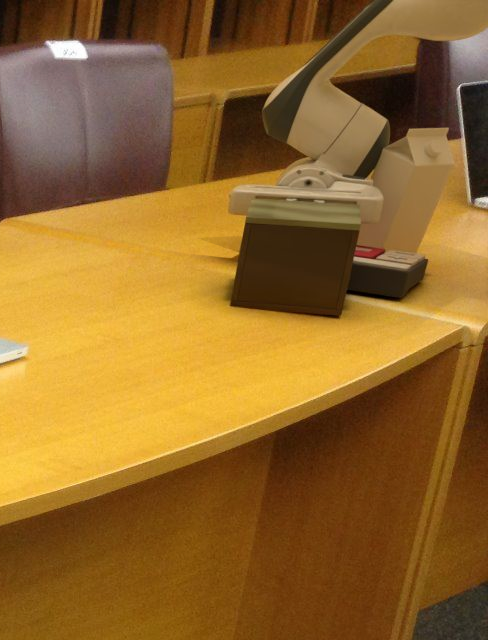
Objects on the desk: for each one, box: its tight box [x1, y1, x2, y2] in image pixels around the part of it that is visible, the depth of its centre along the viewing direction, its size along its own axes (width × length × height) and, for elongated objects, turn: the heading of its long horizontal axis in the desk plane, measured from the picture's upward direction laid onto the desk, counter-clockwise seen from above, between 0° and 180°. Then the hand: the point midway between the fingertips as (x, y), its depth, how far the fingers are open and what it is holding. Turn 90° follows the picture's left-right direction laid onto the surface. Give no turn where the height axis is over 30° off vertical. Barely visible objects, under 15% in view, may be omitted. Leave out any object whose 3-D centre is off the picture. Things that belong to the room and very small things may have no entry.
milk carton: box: [357, 127, 455, 254], centre depth 226 cm, size 7×7×19 cm
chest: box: [229, 222, 360, 317], centre depth 204 cm, size 14×14×11 cm
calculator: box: [347, 245, 429, 299], centre depth 214 cm, size 11×4×15 cm
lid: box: [244, 198, 361, 230], centre depth 202 cm, size 16×14×1 cm
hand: (303, 212), depth 214 cm, fingers closed
